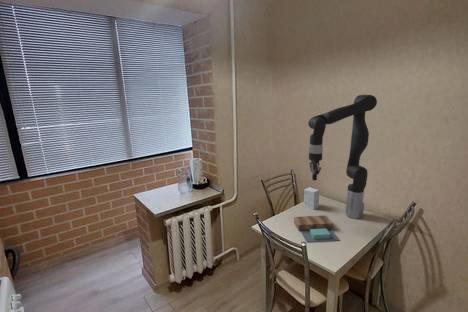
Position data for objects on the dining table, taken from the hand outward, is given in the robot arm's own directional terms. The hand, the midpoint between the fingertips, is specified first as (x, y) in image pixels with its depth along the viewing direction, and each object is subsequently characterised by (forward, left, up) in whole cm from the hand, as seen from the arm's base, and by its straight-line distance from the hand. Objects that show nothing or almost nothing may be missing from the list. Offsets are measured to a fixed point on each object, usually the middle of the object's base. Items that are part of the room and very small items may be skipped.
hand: (314, 179), depth 149 cm
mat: (+2, +17, -27) cm, 32 cm away
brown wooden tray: (+2, +6, -27) cm, 28 cm away
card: (+2, +17, -24) cm, 30 cm away
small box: (-6, -20, -27) cm, 34 cm away
